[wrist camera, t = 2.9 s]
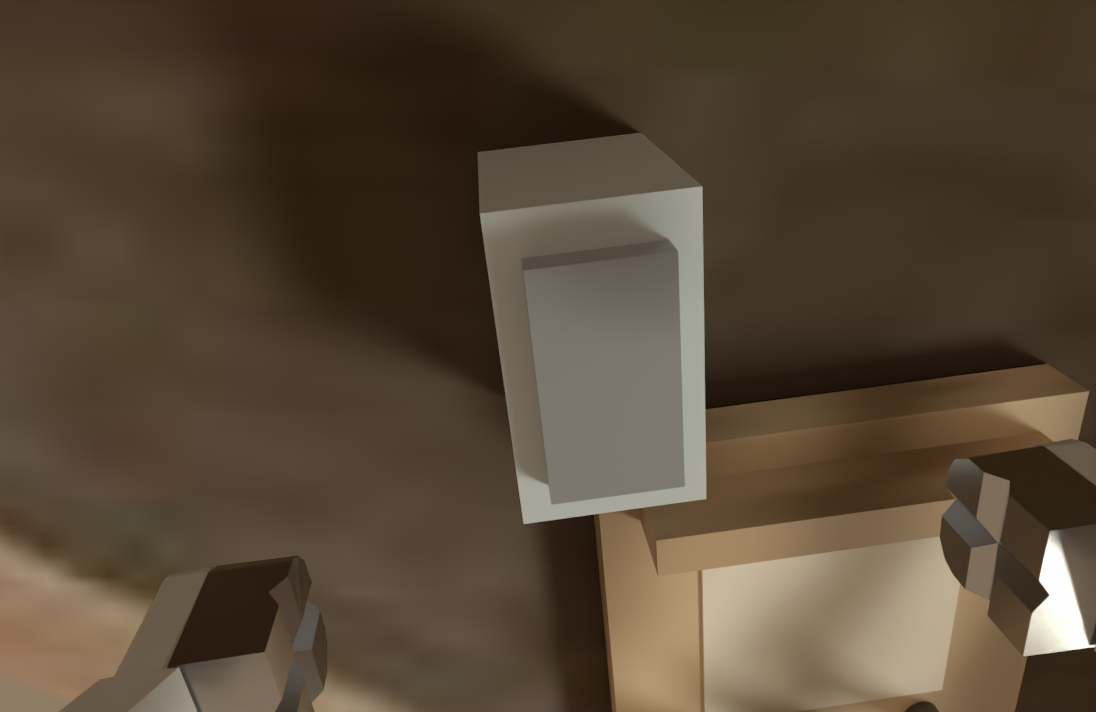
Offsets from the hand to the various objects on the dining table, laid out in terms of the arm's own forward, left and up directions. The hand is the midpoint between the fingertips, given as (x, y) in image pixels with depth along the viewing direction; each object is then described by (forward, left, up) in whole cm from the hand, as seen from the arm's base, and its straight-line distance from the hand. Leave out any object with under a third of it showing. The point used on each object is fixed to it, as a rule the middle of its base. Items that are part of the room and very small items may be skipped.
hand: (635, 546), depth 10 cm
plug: (0, 0, -9) cm, 9 cm away
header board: (-6, +11, -9) cm, 15 cm away
